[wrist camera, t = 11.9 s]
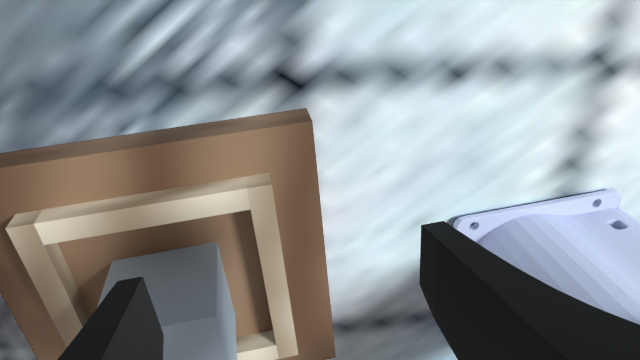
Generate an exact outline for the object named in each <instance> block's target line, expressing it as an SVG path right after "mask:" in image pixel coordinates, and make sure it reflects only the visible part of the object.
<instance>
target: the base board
mask: <svg viewBox="0 0 640 360" xmlns="http://www.w3.org/2000/svg"><path fill="white" fill-rule="evenodd" d="M214 242H217V244H218V248H219V252H220V256H221V260H222V264H223V268H224V272H225V276H226V280H227V284H228V288H229V292H230V296H231V300H232V304H233V308H234V312H235V318H236V344H237V360H326V359H330V358H335V347H334V336H333V326H332V316H331V306H330V296H329V286H328V276H327V266H326V256H325V246H324V236H323V226H322V215H321V205H320V195H319V185H318V175H317V165H316V155H315V145H314V135H313V125H312V120H311V118H310V115H309V113H308V111H307V109H306V108H305V109H298V110H291V111H284V112H278V113H271V114H264V115H257V116H250V117H244V118H237V119H230V120H223V121H217V122H210V123H203V124H196V125H189V126H183V127H176V128H169V129H162V130H155V131H149V132H142V133H135V134H128V135H121V136H115V137H108V138H101V139H94V140H88V141H81V142H74V143H67V144H60V145H54V146H47V147H40V148H33V149H26V150H20V151H13V152H6V153H0V293H1V295H2V297H3V298H4V300H5V302H6V304H7V305H8V307H9V309H10V311H11V312H12V314H13V316H14V318H15V319H16V321H17V323H18V325H19V326H20V328H21V330H22V332H23V333H24V335H25V337H26V339H27V340H28V342H29V344H30V346H31V347H32V349H33V351H34V353H35V354H36V356H37V358H38V360H57V359H58V358H59V357H60V356H61V354H62V353H63V352H64V351H65V349H66V348H67V347H68V346H69V344H70V343H71V342H72V340H73V339H74V338H75V337H76V335H77V334H78V333H79V331H80V330H81V329H82V328H83V326H84V325H85V324H86V322H87V321H88V320H89V318H90V317H91V316H92V314H93V313H94V311H95V310H96V309H97V306H98V303H99V300H100V297H101V294H102V290H103V287H104V284H105V281H106V278H107V275H108V272H109V269H110V266H111V262H112V261H116V260H121V259H127V258H132V257H137V256H143V255H148V254H154V253H159V252H165V251H170V250H176V249H181V248H186V247H192V246H197V245H203V244H208V243H214Z"/></svg>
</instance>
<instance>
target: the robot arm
mask: <svg viewBox="0 0 640 360" xmlns="http://www.w3.org/2000/svg"><path fill="white" fill-rule="evenodd" d="M621 198H622V195H621V193H620V192H618V191H617V190H615V189H609V190H604V191H598V192H593V193H587V194H582V195H576V196H571V197H565V198H560V199H554V200H549V201H543V202H538V203H533V204H527V205H522V206H516V207H511V208H505V209H500V210H494V211H489V212H483V213H478V214H473V215H467V216H462V217H459V218H458V219H457V220H456V221H455V222H454V224H453V227H452V226H450V225H449V224H447V223H445V222H444V221H442V222H436V223H431V224H425V225H421V256H420V286H421V288H422V291H423V293H424V296H425V298H426V301H427V303H428V305H429V308H430V310H431V312H432V315H433V317H434V319H435V321H436V322H437V324H438V326H439V328H440V329H441V331H442V333H443V335H444V336H445V338H446V340H447V342H448V343H449V345H450V347H451V349H452V350H453V352H454V354H455V355H456V357H457V359H458V360H640V222H638V221H637V220H635V219H634V218H633V217H631V216H630V215H628V214H627V213H626V212H624V211H623V210H621V209H620V208H619V206H620V202H621ZM594 201H595V202H594ZM593 202H594V203H593ZM473 222H475V223H474V224H473V225H472V226H470V225H471V224H472V223H473ZM163 342H164V334H163V331H162V329H161V326H160V323H159V320H158V317H157V315H156V312H155V309H154V306H153V303H152V301H151V298H150V295H149V292H148V289H147V287H146V284H145V281H144V278H143V276H142V277H136V278H131V279H125V280H120V281H117V282H116V284H115V285H114V286H113V287H112V289H111V290H110V291H109V293H108V294H107V295H106V297H105V298H104V299H103V301H102V302H101V303H100V305H99V306H98V307H97V309H96V310H95V311H94V313H93V314H92V316H91V317H90V318H89V320H88V321H87V322H86V324H85V325H84V326H83V328H82V329H81V330H80V331H79V333H78V334H77V335H76V337H75V338H74V339H73V340H72V342H71V343H70V344H69V346H68V347H67V348H66V349H65V351H64V352H63V353H62V354H61V356H60V357H59V358H58V359H57V360H163Z"/></svg>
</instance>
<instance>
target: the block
mask: <svg viewBox="0 0 640 360" xmlns="http://www.w3.org/2000/svg"><path fill="white" fill-rule="evenodd" d="M142 276H143V278H144V281H145V284H146V287H147V289H148V292H149V295H150V298H151V301H152V303H153V306H154V309H155V312H156V315H157V317H158V320H159V323H160V326H161V329H162V331H163V334H164V342H163V360H237V344H236V318H235V312H234V308H233V304H232V300H231V296H230V292H229V288H228V284H227V280H226V276H225V272H224V268H223V264H222V260H221V256H220V252H219V248H218V244H217V242H214V243H208V244H203V245H197V246H192V247H186V248H181V249H176V250H170V251H165V252H159V253H154V254H148V255H143V256H137V257H132V258H127V259H121V260H116V261H112V262H111V266H110V269H109V272H108V275H107V278H106V281H105V284H104V287H103V290H102V294H101V297H100V300H99V303H98V306H99V305H100V303H101V302H102V301H103V299H104V298H105V297H106V295H107V294H108V293H109V291H110V290H111V289H112V287H113V286H114V285H115V284H116V282H117V281H120V280H125V279H131V278H136V277H142ZM98 306H97V307H98Z"/></svg>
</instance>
